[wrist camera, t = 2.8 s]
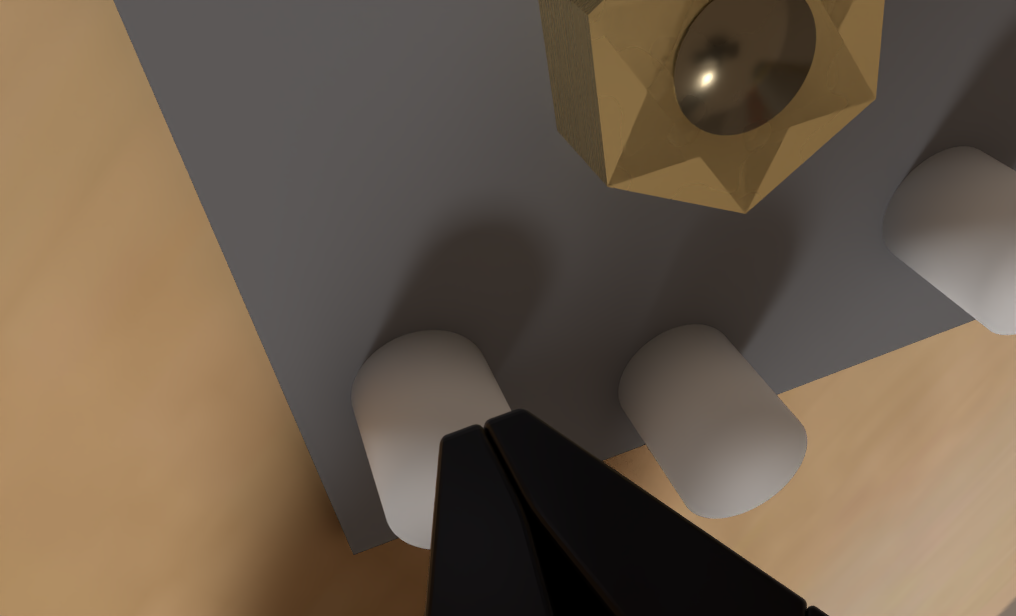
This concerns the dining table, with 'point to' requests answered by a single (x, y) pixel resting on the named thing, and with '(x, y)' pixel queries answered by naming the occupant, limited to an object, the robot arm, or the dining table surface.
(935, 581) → the dining table surface
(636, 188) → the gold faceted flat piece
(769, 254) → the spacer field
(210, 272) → the dining table surface
